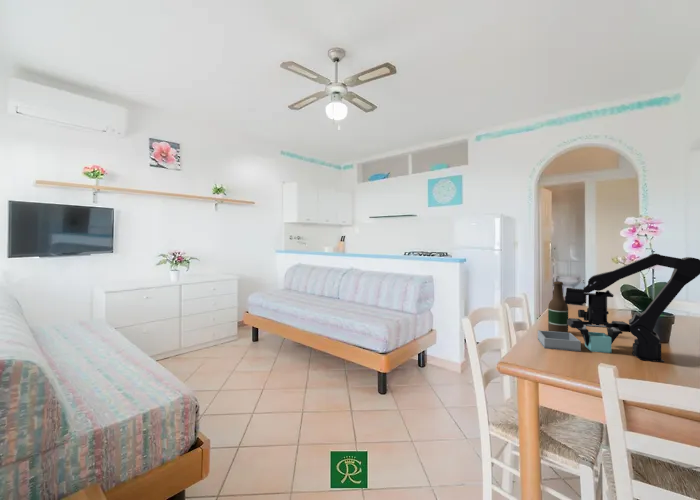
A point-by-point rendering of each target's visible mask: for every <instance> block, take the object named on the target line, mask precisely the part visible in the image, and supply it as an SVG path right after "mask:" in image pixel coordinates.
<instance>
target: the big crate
mask: <svg viewBox="0 0 700 500" xmlns="http://www.w3.org/2000/svg"><path fill="white" fill-rule="evenodd" d="M537 341H538V342H539V343H540V344H541V346H542V347H543V348H544V349H548V350H557V351H558V350H560V351H569V352H570V351H571V352H582V349H581V348H582V347H581V345H582V343H581V342H582V340H581V341H580V339H578V338H577V337H576V336H575V335H574V334H573V333H571V332H568V333H566V332H554V331H548V330H541V329H540V330H539V329H538V330H537Z"/></svg>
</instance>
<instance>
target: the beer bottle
mask: <svg viewBox="0 0 700 500" xmlns="http://www.w3.org/2000/svg"><path fill="white" fill-rule="evenodd" d="M563 285H564V283H563V282H562V281H553V294H552V295H553V296H552V298H551V300H550V301H549V303H548V307H547V312H548V313H547V314H548V316H547V318H548V319H547V331H554V332H566V333H569V325H567V320H568V319H569V306H568V305H569V304H566V303H565V297H564V290H563Z"/></svg>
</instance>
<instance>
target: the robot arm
mask: <svg viewBox="0 0 700 500" xmlns="http://www.w3.org/2000/svg"><path fill="white" fill-rule="evenodd" d="M655 266H661V267H664V268H665V267H666V268H670V269H673V271H672V273H671V275H670V279H669V280H668V281H667V282H666V284H664V286H663V287H662V289H661V290H660V291H659V292H658V294H657V295H656V296H655V297H654V299H653V300H652V301H651V302H650V303H649V305H648V306H647V307H646V309H645V310H644V311H642V312H641V313H639V312H637V311H635V312H634V314H633V316H632V317H631V318H630V319H628V323H627V322H625V321H622V320H621V321H620V320H612V321H611V322H609V321H608V315H609V311H608V298H613V297H614V296H615V295H614V293H612V292H611V291H610V289H609V290H608V289H607V288H608V287H610V286H612V285H614V284H615V283H616V282H618V281H620V280H622V279H624V278H627V277H629V276H632V275H635V274H638V273H639V272H642V271H645V270H648V269H651V268H652V267H655ZM699 275H700V258H695V257H692V256H691V257H690V256H686V257H682V258H679V257H675V256H674V257H673V256H667V255H662V254H659V253H651V254H649V255H648V256H645V257H643V258H641V259H638V260H635V261H634V262H630V263H629V264H626V265H624V266H621V267H619V268H616V269H613V270H610V271H605V272H601V273H597V274H594V275H591V276H590V277H589V279H588V281H587V285H586V286H583V288H573V287H566V289H565V296H564V300H565V303H566V304H567V305H573V306H582V307H583V306H584V305H585V304H588V305H587V306H588V307H587V309H586V310H587V311H586V310H585V309H578V310H577V317H578V318H573V317H568V320H567V325H568V327H570V328H572V329H577V331H579V332H580V333H581V336H582V338H583V341H584V344H585V343H586V345H587V346H588V344H589V333H588V332H589V329H587V327H591V328H603V329H604V328H605V329H606V331H607V335H608V336H610V337H611V346H612V345H613V343H614V341H616V338H618V337H619V335H622V334H623V333H631V335H633V336H634V337H636V338H634V342H633V343H632V352H631V354H632V355H633V356H635V357H636V358H638V359H639V360H640V361H650V362H658V363H659V362H660V363H665V360H664V359H662V343H661V339H660V336H659V334H658V333H657V332H656V331H654V329H655V327H656V325H657V321H658V319H659V318H660V316H661V315H662V314H663V313H664V311H665V310H666V309H667V307H668V306H669V305H670V304H671V303H672V302H673V300H674V299H675V298H676V297H677V296H678V294H679V293H680V292H681V291H682V290H683V288H684V287H685V286H686V285H687V284H689V283H690V282H691V281H693V280H695V279H696V278H698V276H699ZM605 289H607V290H606V291H603V290H605ZM594 291H595V293H594ZM587 296H588V298H587ZM587 300H588V303H587ZM582 319H583V320H582Z"/></svg>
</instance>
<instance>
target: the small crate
mask: <svg viewBox="0 0 700 500" xmlns="http://www.w3.org/2000/svg"><path fill="white" fill-rule="evenodd" d="M588 333H589V344H588V346H587V345H586V343H585V342H584V347H585V348H586V349H587V350H589V351H590V352H591V353H592V352H594V353H602V354H603V353H604V354H605V353H606V354H612V345H611V337H610V336H608V333H605V332H597V331H588Z"/></svg>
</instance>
